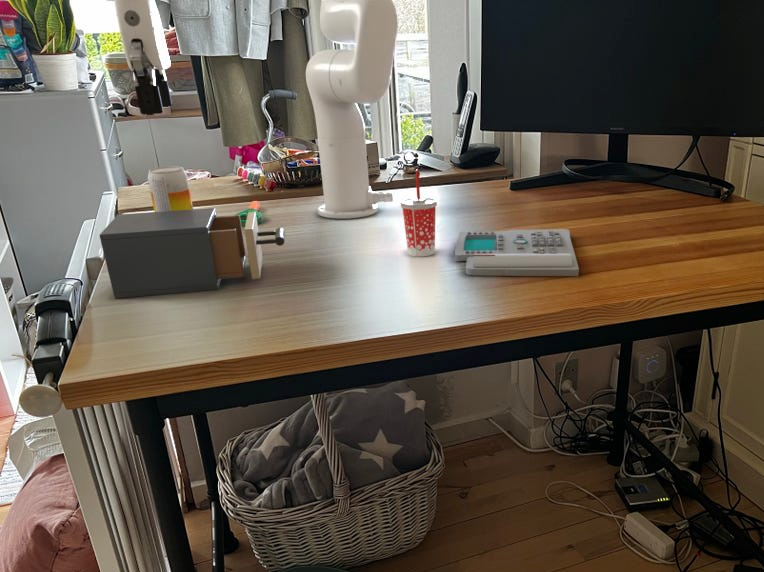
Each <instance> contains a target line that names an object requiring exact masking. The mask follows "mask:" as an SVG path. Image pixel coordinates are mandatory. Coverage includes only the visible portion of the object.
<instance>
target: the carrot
mask: <svg viewBox="0 0 764 572" xmlns="http://www.w3.org/2000/svg"><path fill="white" fill-rule="evenodd" d="M260 207H261V202H260V201H258V200H253V201H251V203H250V204H249V206H248V208H247V209H244V210H242V211H240V212H237V213H234V215H240V221H241V227H245V225H246V220H247V215H248V212H256V217H257V224H258V225H259V224H260V223H262V222H263V214H262V213H261V212H259V211H258V210H259V209H260Z"/></svg>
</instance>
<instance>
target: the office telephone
mask: <svg viewBox="0 0 764 572" xmlns="http://www.w3.org/2000/svg"><path fill="white" fill-rule="evenodd" d="M454 261H455V262H465V274H466V275H468V276H489V277H490V276H493V277H494V276H496V277H497V276H499V277H501V276H507V277H508V276H509V277H512V276H513V277H579V272H580V268H579V265H578V260H577V257H576V253H575V250H574V246H573V242H572V239H571V233H570V229H568V228H550V229H549V228H547V229H546V228H545V229H543V228H542V229H541V228H540V229H539V228H537V229H534V228H533V229H507V230H498V231H497V230H496V231H495V230H492V231H491V230H490V231H489V230H488V231H465V230H462V231H460V232H459V233H458V236H457V240H456V245H455V249H454Z"/></svg>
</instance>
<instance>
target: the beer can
mask: <svg viewBox="0 0 764 572" xmlns="http://www.w3.org/2000/svg"><path fill="white" fill-rule="evenodd" d="M147 183H148V188H149V192H150V197H151V201H152V202H151V203H152V206H153V212H163V211H178V210H193V209H194V206H193V199H192V195H191V189H190V184H189V177H188V174H187V173H186V170H185V169H184V167H183V166H180V165H179V166H178V165H170V166H168V165H167V166H159V167H154V168H150V169H149V170H148V175H147Z"/></svg>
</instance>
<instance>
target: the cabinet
mask: <svg viewBox="0 0 764 572" xmlns="http://www.w3.org/2000/svg"><path fill="white" fill-rule="evenodd" d="M214 217H217V212H216V207H211V208H208V207H207V208H197V209H196V208H195V209H194V208H193V210H178V211H163V212H154V211H151V212H150V211H149V212H148V211H147V212H135V213H123V214H122V213H121V214H117V215H116V216H115V217H114V218H113V219H112V221H110V223H109V224H107V225H106V227H105V228H104V229H103V230H102V231H101V232H100V234H99V241H100V244H101V248H102V252H103V255H104V256H103V257H104V260H105V264H106V269H107V272H108V277H109V281H110V284H111V285H110V286H111V289H112V292H113V297H114V299H126V298H136V297H147V296H160V295H171V294H181V293H182V294H183V293H193V292H204V291H214V290H219V288H220V284H221V281H222V279H217V274H216V269H215V263H214V257H213V252H212V246H211V240H210V235H209V229H210V226H211V224H212V221H213V218H214Z"/></svg>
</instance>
